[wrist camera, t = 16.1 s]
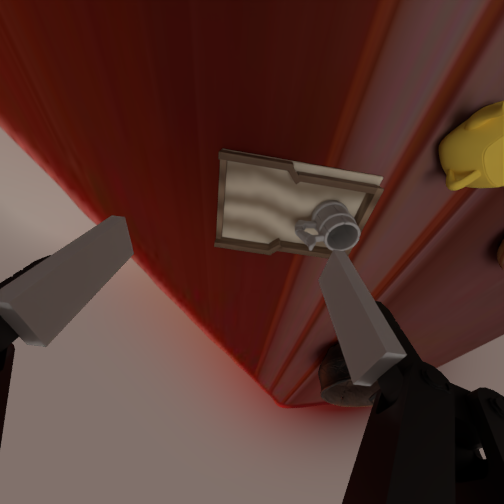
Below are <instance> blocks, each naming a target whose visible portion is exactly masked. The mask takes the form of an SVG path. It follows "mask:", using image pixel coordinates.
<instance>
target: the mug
mask: <svg viewBox="0 0 504 504" xmlns="http://www.w3.org/2000/svg"><path fill="white" fill-rule="evenodd" d="M306 228H314V229H315V230H316V231H317V232H318V235H312V234H310V233H308V232H305V231H304V230H305V229H306ZM295 234H296V235H297V236H298V237H299V238H300V239H301V240H302V241H303V242H304V243H305V244H306V245H307V246H308V248H309V250H310V251H311V250H312V249H313V247H314V246H315V244H316V242H321V241H323V242H324V243H325V245H326V247H328V249H330V250H332V251H333V250H339V251H344V250H348V249H350V248H352V247H353V246H355V245H356V243H357V242H358V240H359V236H360V229H359V227H358V225H357V223H356V221H355V219H354V217H353V216H352V215H351V214H350V213H349V211H348V209H347V207H346V206H345V205H344V204H343V203H341V202H338V201H335V200H330V201H329V200H327V201H324V202H322V203H321V204H319V205H318V206H317V207H316V208H315V210H314V211H313V213H312V219H311V221H304V220H298V222H296V224H295Z"/></svg>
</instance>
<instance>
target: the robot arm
mask: <svg viewBox="0 0 504 504" xmlns="http://www.w3.org/2000/svg"><path fill="white" fill-rule="evenodd" d="M133 254H134V252H133V248H132V244H131V240H130V236H129V232H128V228H127V224H126V220H125V217H119V216H111V217H109V218H107V219H106V220H104V221H103V222H101V223H100V224H98V225H97V226H95V227H94V228H92V229H91V230H89V231H88V232H86V233H85V234H83V235H82V236H80V237H79V238H77V239H76V240H74V241H73V242H71V243H70V244H68V245H67V246H65V247H64V248H62V249H60V250H59V251H57V252H56V253H54V254H53V255H49V256H47V257H44V258H41V259H39V260H37V261H34V262H33V263H31V264H30V265H28V266H26V267H25V268H23V270H20V271H19V272H17V273H15V274H14V275H13V277H9V278H8V279H6V280H4V281H3V282H1V283H0V447H1V440H2V433H3V427H4V420H5V413H6V406H7V399H8V393H9V386H10V379H11V372H12V365H13V359H14V352H15V348H14V345H13V344H12V342H13V341H14V340H16V339H17V338H18V337H20V338H21V339H22V340H23V341H24V342H25V343H26V344H27V345H35V346H43V347H46V346H47V345H48V344H49V343H50V342H51V341H52V340H53V339H54V338H55V337H56V336H57V335H58V334H59V333H60V332H61V331H62V329H63V328H64V327H65V326H66V325H67V324H68V323H69V322H70V321H71V320H72V319H73V318H74V317H75V316H76V315H77V314H78V313H79V311H80V310H81V309H82V308H83V307H84V306H85V305H86V304H87V303H88V302H89V301H90V300H91V299H92V298H93V296H94V295H95V294H96V293H97V292H98V291H99V290H100V289H101V288H102V287H103V286H104V285H105V284H106V283H107V282H108V281H109V280H110V278H111V277H112V276H113V275H114V274H115V273H116V272H117V271H118V270H119V269H120V268H121V267H122V266H123V265H124V264H125V263H126V261H127V260H128V259H129V258H130V257H131V256H132V255H133ZM319 284H320V287H321V290H322V293H323V296H324V299H325V302H326V305H327V308H328V311H329V314H330V317H331V320H332V323H333V326H334V329H335V332H336V335H337V338H338V341H339V344H340V346H341V349H342V352H343V355H344V358H345V361H346V364H347V367H348V370H349V373H350V376H351V379H352V382H353V384H355V385H363V386H371V385H372V384H373V383H374V382H375V381H378V384H379V386H380V389H379V390H378V391H377V392H375V393H374V394H373V395H371V396H370V398H369V399H368V400H369V401H372V400H374V399H375V400H374V403H373V407H372V410H371V413H370V416H369V419H368V423H367V426H366V429H365V432H364V435H363V439H362V442H361V445H360V448H359V451H358V454H357V457H356V461H355V464H354V467H353V470H352V473H351V477H350V480H349V483H348V486H347V489H346V492H345V496H344V499H343V502H342V504H504V397H503V396H502V395H500V394H499V393H497V392H495V391H494V390H491V389H488V388H478V389H477V390H474V391H472V392H470V391H468V390H466V389H464V388H461V387H459V386H457V385H454V384H452V383H450V382H449V380H448V379H447V378H446V377H445V376H444V375H443V374H442V373H441V372H440V371H439V370H438V369H436V368H435V367H434V366H432V365H430V364H428V363H426V362H423V361H422V360H421V358H420V357H419V355H418V354H417V352H416V351H415V349H414V348H413V346H412V345H411V343H410V342H409V340H408V338H407V337H406V335H405V334H404V332H403V331H402V329H400V326H399V325H398V323H397V322H396V321H395V318H394V317H393V315H392V314H391V312H390V311H389V310H388V309H387V308H386V307H385V306H384V305H383V304H382V303H381V302H378V301H374V299H373V297H372V296H371V294H370V292H369V291H368V289H367V288H366V286H365V284H364V283H363V281H362V279H361V278H360V276H359V274H358V273H357V271H356V269H355V268H354V266H353V264H352V263H351V261H350V259H349V258H348V256H347V254H346V253H345V251H339V250H333V251H332V253H331V255H330V257H329V260H328V262H327V264H326V266H325V268H324V270H323V272H322V274H321V276H320V278H319ZM480 448H483V450H484V453H485V456H486V459H483V458H482V456H481V454H480V451H479V449H480Z"/></svg>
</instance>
